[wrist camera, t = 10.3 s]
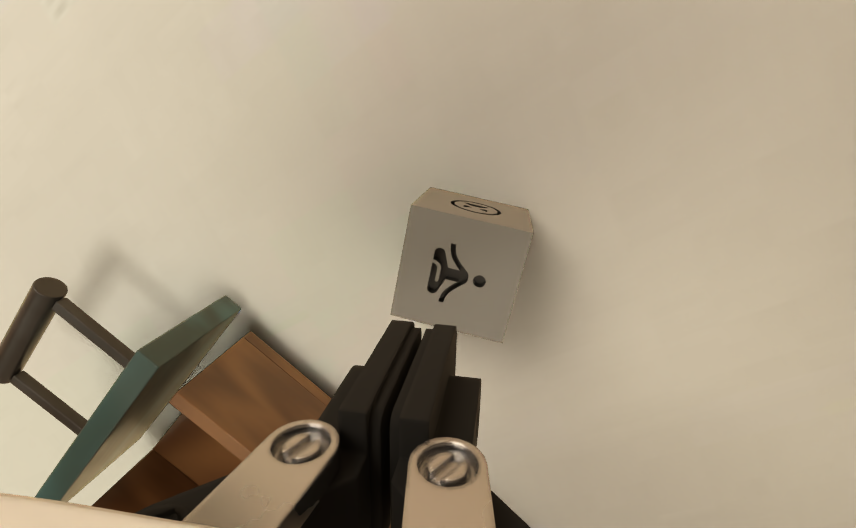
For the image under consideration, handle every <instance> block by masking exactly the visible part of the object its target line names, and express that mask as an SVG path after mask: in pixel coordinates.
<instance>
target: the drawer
mask: <svg viewBox="0 0 856 528" xmlns="http://www.w3.org/2000/svg"><path fill="white" fill-rule="evenodd" d="M67 292H68V289H67V286H66V285H65V284H64V283H63V282H62V281H60V280H58V279H55V278H50V277H43V278H39V279H37V280H36V281H34V283H33V285H32V286H31V288H30V290H29V292H28V294H27V296H26V298H25V299H24V301H23V303H22V305H21V307H20V309H19V311H18V312H17V314H16V316H15V318H14V320H13V322H12V324H11V325H10V327H9V329H8V331H7V333H6V335H5V337H4V338H3V340H2V342H1V344H0V384H5V383H12V384H13V385H14V386H15V387H17V388H18V389H19V390H21V391H22V392H23V393H24V394H26V395H27V396H28V397H29V398H31V399H32V400H33V401H35V402H36V403H37V404H38V405H40V406H41V407H42V408H44V409H45V410H46V411H47V412H49V413H50V414H51V415H53V416H54V417H55V418H56V419H58V420H59V421H60V422H61V423H63V424H64V425H65V426H67V427H68V428H69V429H70V430H72V431H73V432H74V433H76V434H77V435H78V436H77V437H76V439H75V440H74V442H73V443H72V444H71V446H70V447H69V449H68V450H67V452H66V453H65V454H64V456H63V457H62V459H61V460H60V462H59V463H58V464H57V466H56V467H55V469H54V470H53V472H52V473H51V475H50V476H49V477H48V479H47V480H46V482H45V483H44V485H43V486H42V487H41V489H40V490H39V492H38V493H37V495H36V496H35V498H43V499H51V500H57V501H63V502H68V501H69V500H70V499H71V498H72V497H74V496H75V495H76V494H77V493H78V492H79V491H80V490H82V489H83V488H84V487H85V486H86V485H87V484H88V483H90V482H91V481H92V480H93V479H94V478H95V477H96V476H98V475H99V474H100V473H101V472H102V471H103V470H105V469H106V468H107V467H108V466H109V465H110V464H111V463H113V462H114V461H115V460H116V459H117V458H118V457H119V456H121V455H122V454H123V453H124V452H125V451H126V450H127V449H129V448H130V447H131V446H132V445H133V444H134V443H136V442H137V441H138V440H139V439H140V438H141V437H142V435H143V434H144V433H145V432H146V430H147V429H148V428H149V426H150V425H151V424H152V423H153V421H154V420H155V419H156V418H157V416H158V415H159V414H160V412H161V411H162V410H163V409H164V407H165V406H166V405H167V403H168V402H169V403H170V404H171V405H172V406H174V407H175V408H176V409H177V410H179V411H180V412H181V415H180V416H179V417H178V418H177V420H176V421H175V422H174V423H173V425H172V426H171V427H170V428H169V429H168V431H167V432H166V433H165V434H164V436H163V437H162V438H161V439H160V441H159V442H158V443H157V444H156V446H155V447H154V448H153V449H152V450H151V451H150V452H149V453H148V454H147V455H146V456H145V457H144V458H142V459H141V460H140V461H139V462H138V463H137V464H136V465H135V466H134V467H133V468H132V469H131V470H130V471H128V472H127V473H126V474H125V475H124V476H123V477H122V478H121V479H120V480H119V481H118V482H117V483H116V484H115V485H113V486H112V487H111V488H110V489H109V490H108V491H107V492H106V493H105V494H104V495H103V496H102V497H101V498H100V499H98V500H97V501H96V502H95V503H94V504H93V505H92V506H93V507H99V508H105V509H111V510H117V511H123V512H128V513H136V512H137V511H140V510H142V509H144V508H146V507H148V506H150V505H152V504H155V503H157V502H160V501H162V500H165V499H167V498H170V497H172V496H175V495H177V494H180V493H183V492H185V491H188V490H190V489H193V488H195V487H198V486H200V485H203V484H205V483H208V482H211V481H213V480H216V479H218V478H221V477H223V476H226V475H228V474H230V473H231V472H232V471H233V470H234V469H235V468H236V467H237V466H238V465H239V464H240V463H241V462H242V461H243V460H244V459H245V458H246V457H247V456H248V455H249V454H250V453H251V452H253V451H254V450H255V449H256V448H257V447H258V446H259V445H260V444H261V443H262V442H263V441H264V440H265V439H266V438H267V437H268V436H269V435H270V434H271V433H272V432H274V431H275V430H276V429H278V428H279V427H282V426H284V425H286V424H288V423H291V422H295V421H299V420H310V419H312V420H318V419H319V418H320V416H321V414H322V413H323V411H324V410H325V408H326V407H327V405H328V404H329V402H330V401H331V399H332V398H330V397H329V396H328V395H327V394H326V393H324V392H323V391H322V390H321V389H320V388H318V387H317V386H316V385H315V384H314V383H312V382H311V381H310V380H309V379H308V378H306V377H305V376H304V375H303V374H302V373H301V372H299V371H298V370H297V369H296V368H295V367H293V366H292V365H291V364H290V363H289V362H287V361H286V360H285V359H284V358H283V357H281V356H280V355H279V354H278V353H277V352H275V351H274V350H273V349H272V348H271V347H269V346H268V345H267V344H266V343H265V342H263V341H262V340H261V339H260V338H259V337H257V336H256V335H255V334H254V333H253V332H251V331H250V332H249V333H247V334H246V335H245V336H244V337H243V338H241V339H240V340H239V341H238V342H237V343H235V344H234V345H233V346H232V347H230V348H229V349H228V350H227V351H226V352H224V353H223V354H222V355H221V356H220V357H218V358H217V359H216V360H215V361H214V362H212V363H211V364H210V365H209V366H208V367H206V368H205V369H204V370H203V371H201V372H200V373H199V374H198V375H197V376H195V377H194V378H193V379H192V380H191V381H189V382H188V383H187V384H186V385H185V386H183V387H182V388H181V389H180V390H179V391H178V389H179V388H180V387H181V386H182V384H183V383H184V382H185V380H186V379H187V378H188V377H189V375H190V374H191V373H192V371H193V370H194V369H195V368H196V366H197V365H198V364H199V362H200V361H201V360H202V359H203V357H204V356H205V355H206V354H207V352H208V351H209V350H210V348H211V347H212V346H213V345H214V343H215V342H216V341H217V339H218V338H219V337H220V336H221V334H222V333H223V332H224V330H225V329H226V328H227V327H228V325H229V324H230V323H231V322H232V320H233V319H234V318H235V316H236V315H237V314H238V313H239V311H240V310H241V308H240V307H239V306H238V305H237V304H236V303H234V302H233V301H232V300H231V299H230V298H229V297H227V296H223V297H222V298H220V299H219V300H217V301H215V302H214V303H212V304H211V305H209V306H207V307H206V308H204V309H203V310H201V311H199V312H198V313H196V314H195V315H193V316H191V317H190V318H188V319H187V320H185V321H184V322H182V323H180V324H179V325H177V326H176V327H174V328H172V329H171V330H169V331H168V332H166V333H164V334H163V335H161V336H160V337H158V338H156V339H155V340H153V341H152V342H150V343H148V344H147V345H145V346H144V347H142V348H140V349H139V350H137V352H136V353H134V352H133V351H132V350H130V349H129V348H128V347H127V346H126V345H124V344H123V343H122V342H121V341H119V340H118V339H117V338H116V337H114V336H113V335H112V334H111V333H109V332H108V331H107V330H106V329H105V328H103V327H102V326H101V325H100V324H98V323H97V322H96V321H95V320H93V319H92V318H91V317H90V316H89V315H87V314H86V313H85V312H84V311H82V310H81V309H80V308H79V307H77V306H76V305H75V304H74V303H72V302H71V301H70V300H69V299H68V298H64V297H65V296H66V294H67ZM55 313H57V314H58V315H59V316H61V317H62V318H63V319H64V320H66V321H67V322H68V323H69V324H71V325H72V326H73V327H74V328H76V329H77V330H78V331H79V332H81V333H82V334H83V335H84V336H86V337H87V338H88V339H89V340H90V341H92V342H93V343H94V344H95V345H97V346H98V347H99V348H100V349H102V350H103V351H104V352H105V353H107V354H108V355H109V356H110V357H112V358H113V359H114V360H115V361H117V362H118V363H119V364H120V365H122V366H123V367H124V368H125V369H124V370H123V372H122V373H121V374H120V376H119V377H118V379H117V380H116V382H115V383H114V384H113V386H112V387H111V389H110V390H109V392H108V393H107V394H106V396H105V397H104V399H103V400H102V402H101V403H100V404H99V406H98V407H97V409H96V410H95V412H94V413H93V414H92V416H91V417H90V419H89V420H88V421H87V420H86V419H85V418H83V417H82V416H81V415H80V414H78V413H77V412H76V411H75V410H73V409H72V408H71V407H69V406H68V405H67V404H66V403H64V402H63V401H62V400H61V399H59V398H58V397H57V396H56V395H54V394H53V393H52V392H50V391H49V390H48V389H47V388H45V387H44V386H43V385H42V384H40V383H39V382H38V381H36V380H35V379H34V378H33V377H31V376H30V375H29V374H28V373H26V372H25V371H22V370H23V368H24V366H25V365H26V363H27V361H28V359H29V358H30V356H31V354H32V353H33V351H34V349H35V347H36V346H37V344H38V342H39V341H40V339H41V337H42V335H43V334H44V332H45V330H46V328H47V327H48V325H49V323H50V322H51V320H52V318H53V316H54V315H55ZM174 394H175V395H174ZM171 398H172V399H171Z"/></svg>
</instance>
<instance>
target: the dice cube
mask: <svg viewBox="0 0 856 528" xmlns="http://www.w3.org/2000/svg"><path fill="white" fill-rule="evenodd" d="M532 237H533V229H532V224H531V220H530V215H529V211H528V209H524V208H520V207H515V206H511V205H507V204H502V203H498V202H493V201H489V200H485V199H480V198H476V197H471V196H467V195H463V194H458V193H454V192H449V191H445V190H440V189H436V188H432V187H430V188H429V189H428V190H427V191H426V192H425V193H424V194H422V195H421V196H420V197H419V198H418V199H417V200H416V201H415V202H414V203H412V204H411V208H410V213H409V219H408V224H407V229H406V235H405V240H404V245H403V251H402V256H401V261H400V267H399V272H398V277H397V283H396V288H395V293H394V299H393V304H392V309H391V315H394V316H397V317H401V318H405V319H409V320H413V321H417V322H421V323H425V324H429V325H433V326H434V325H435V324H441V325H452V326H456V327H457V332H460V333H464V334H468V335H472V336H476V337H480V338H484V339H488V340H491V341H495V342H499V343H502V342H503V339H504V335H505V332H506V328H507V325H508V321H509V318H510V314H511V311H512V307H513V304H514V300H515V297H516V293H517V290H518V286H519V282H520V279H521V275H522V272H523V268H524V265H525V261H526V258H527V254H528V251H529V247H530V244H531V240H532Z"/></svg>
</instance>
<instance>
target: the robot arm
mask: <svg viewBox="0 0 856 528" xmlns="http://www.w3.org/2000/svg"><path fill="white" fill-rule="evenodd" d="M456 339H457V327H456V326H452V325H441V324H435V325H434V328H433V329H426V331H425V333H424V336H423V338H422V341H421V328H415V327H414V323H413V322H408V321H397V320H392V321H391V323H390V324H389V326H388V328H387V329H386V331H385V333H384V334H383V336H382V338H381V339H380V341H379V343H378V344H377V346H376V348H375V349H374V351H373V353H372V354H371V356H370V358H369V359H368V361H367V363H366V364H365V366H358V365H355V366H353V367H352V368H351V370H350V371H349V373H348V374H347V376H346V377H345V379H344V380H343V382H342V384H341V385H340V387H339V388H338V390H337V391H336V393H335V394H334V396H333V397H332V399H331V401H330V402H329V404H328V405H327V407H326V408H325V410H324V411H323V413H322V414H321V416H320V418H319V419H318V420H312V419H310V420H299V421H295V422H291V423H288V424H286V425H284V426H282V427H279V428H278V429H276V430H275V431H274V432H272V433H271V434H270V435H269V436H268V437H267V438H266V439H265V440H264V441H263V442H262V443H261V444H260V445H259V446H258V447H257V448H256V449H255V450H254V451H253V452H251V453H250V454H249V455H248V456H247V457H246V458H245V459H244V460H243V461H242V462H241V463H240V464H239V465H238V466H237V467H236V468H235V469H234V470H233V471H232V472H231V473H230V474H228V475H226V476H223V477H221V478H218V479H216V480H213V481H211V482H208V483H205V484H203V485H200V486H198V487H195V488H193V489H190V490H188V491H185V492H183V493H180V494H177V495H175V496H172V497H170V498H167V499H165V500H162V501H160V502H157V503H155V504H152V505H150V506H148V507H146V508H144V509H142V510H140V511H137V512H136V513H128V512H123V511H117V510H111V509H105V508H99V507H93V506H87V505H81V504H75V503H69V502H63V501H57V500H51V499H43V498H35V497H28V496H20V495H12V494H4V493H0V528H389V527H390V524H391V528H530V527H529V526H528V525H527V524H526V523H525V522H524V521H523V520H522V519H521V518H520V517H519V516H518V515H517V514H516V513H514V512H513V511H512V510H511V509H510V508H509V507H508V506H507V505H506V504H505V503H504V502H503V501H502V500H501V499H500V498H499V497H498V496H497V495H495V494H494V493H493V492H492V491H491V489H490V481H489V473H488V466H487V462H486V459H485V457H484V455H483V454H482V453H481V451H480V450H479V449H478V448H477V447H476V446H477V437H478V426H479V413H480V396H481V379H479V378H469V377H460V376H455V366H456Z"/></svg>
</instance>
